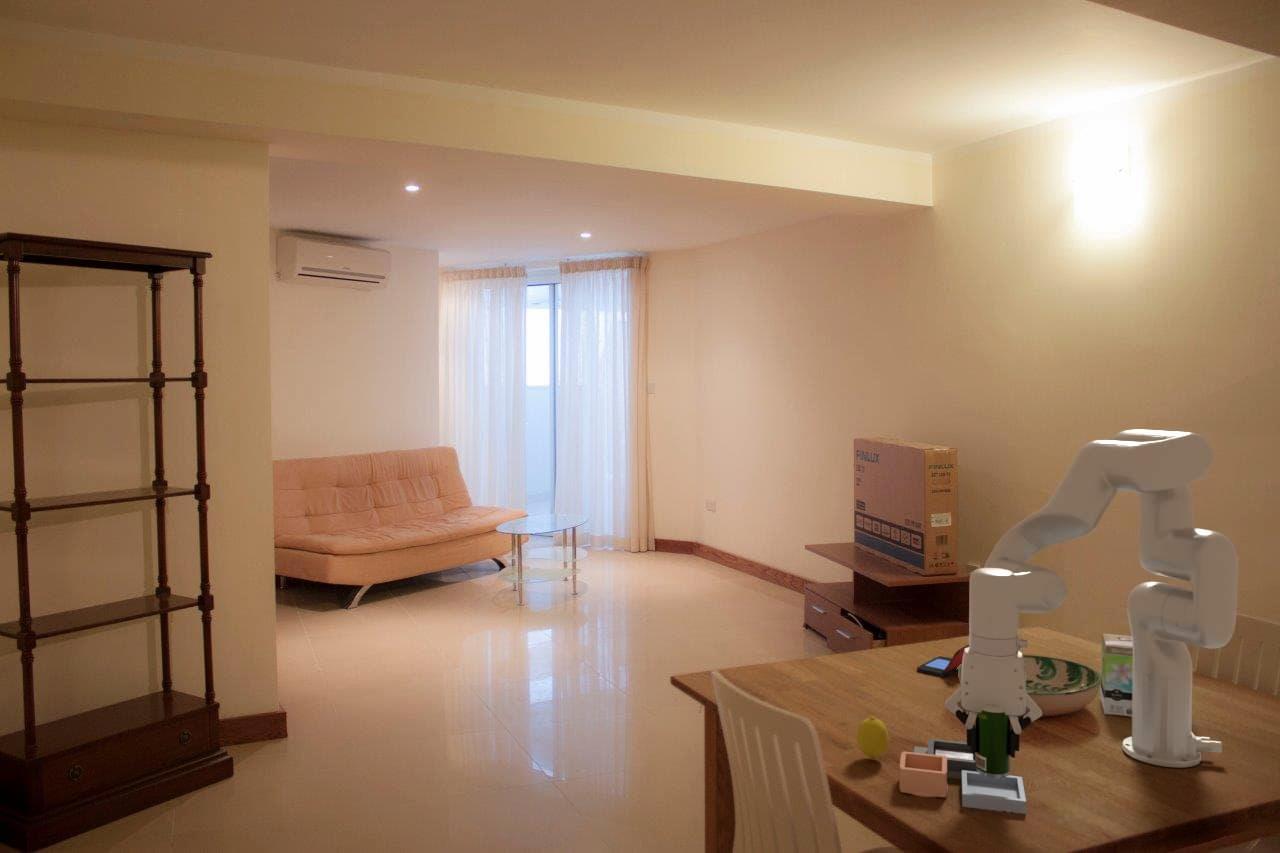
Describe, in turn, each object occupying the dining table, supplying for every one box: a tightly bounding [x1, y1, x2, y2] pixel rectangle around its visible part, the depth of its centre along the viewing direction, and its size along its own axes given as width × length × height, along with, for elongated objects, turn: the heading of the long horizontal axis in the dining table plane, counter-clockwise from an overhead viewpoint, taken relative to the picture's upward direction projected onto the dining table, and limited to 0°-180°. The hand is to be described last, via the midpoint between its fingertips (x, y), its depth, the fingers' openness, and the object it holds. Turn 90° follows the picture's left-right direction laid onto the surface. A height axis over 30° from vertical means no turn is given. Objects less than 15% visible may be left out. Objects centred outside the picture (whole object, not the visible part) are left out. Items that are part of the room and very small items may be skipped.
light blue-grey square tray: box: [961, 770, 1027, 815], centre depth 155 cm, size 10×10×2 cm
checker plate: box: [935, 748, 973, 760], centre depth 167 cm, size 6×6×1 cm
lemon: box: [856, 716, 889, 761], centre depth 170 cm, size 6×6×8 cm
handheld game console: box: [916, 644, 969, 679], centre depth 222 cm, size 12×11×7 cm
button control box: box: [913, 738, 978, 780], centre depth 167 cm, size 14×10×3 cm
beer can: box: [974, 705, 1011, 778], centre depth 154 cm, size 5×5×12 cm
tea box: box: [1099, 633, 1133, 718], centre depth 192 cm, size 15×10×15 cm, turn 68°
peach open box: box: [898, 750, 949, 798], centre depth 159 cm, size 8×8×4 cm
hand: (992, 751), depth 154 cm, fingers closed on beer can, 5 cm apart
